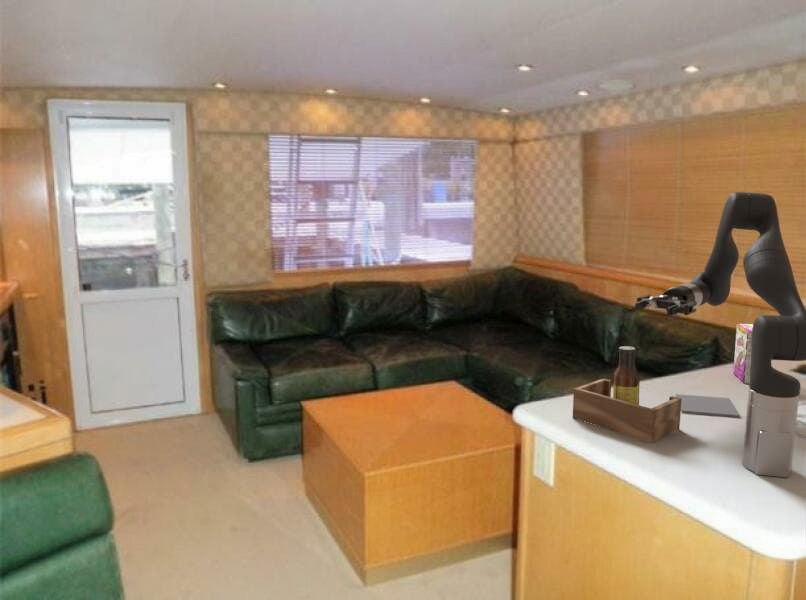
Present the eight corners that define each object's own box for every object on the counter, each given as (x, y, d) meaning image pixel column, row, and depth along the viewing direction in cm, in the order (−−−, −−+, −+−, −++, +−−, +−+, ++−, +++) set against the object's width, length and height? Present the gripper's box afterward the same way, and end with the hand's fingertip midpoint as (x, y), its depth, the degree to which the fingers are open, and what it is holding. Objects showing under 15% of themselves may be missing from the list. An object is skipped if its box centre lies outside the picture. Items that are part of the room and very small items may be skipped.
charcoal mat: (739, 417, 167) (740, 415, 167) (681, 412, 171) (681, 410, 171) (728, 400, 180) (729, 398, 180) (675, 396, 184) (675, 394, 184)
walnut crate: (601, 406, 176) (603, 378, 175) (679, 429, 160) (681, 398, 158) (572, 417, 168) (573, 388, 166) (651, 443, 151) (653, 411, 150)
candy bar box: (731, 373, 205) (736, 323, 202) (748, 374, 204) (753, 323, 201) (742, 383, 195) (747, 331, 192) (760, 384, 194) (765, 331, 191)
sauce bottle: (643, 426, 162) (648, 349, 158) (623, 429, 160) (627, 352, 156) (625, 417, 168) (629, 343, 164) (606, 420, 166) (610, 346, 162)
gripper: (658, 281, 180) (627, 291, 170) (709, 288, 169) (680, 299, 159) (656, 307, 182) (626, 318, 171) (707, 316, 171) (678, 328, 161)
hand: (652, 309), depth 165 cm, fingers open, 8 cm apart
